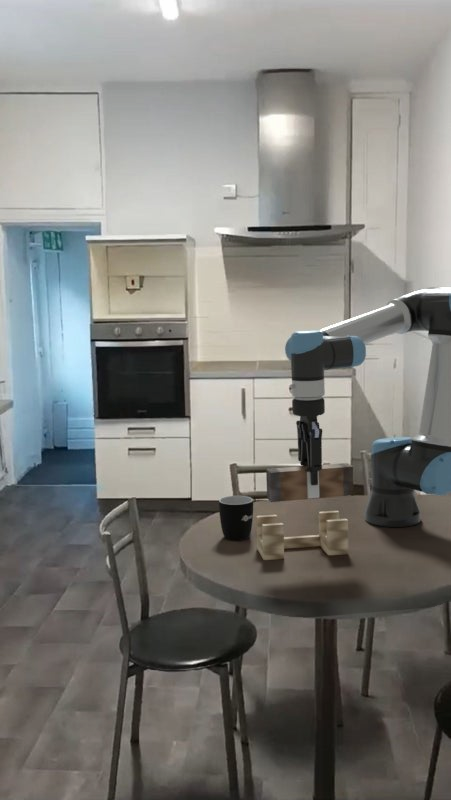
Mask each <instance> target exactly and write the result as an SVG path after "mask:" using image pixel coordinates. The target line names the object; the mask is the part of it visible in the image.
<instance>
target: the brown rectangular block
mask: <svg viewBox="0 0 451 800" xmlns="http://www.w3.org/2000/svg"><path fill="white" fill-rule="evenodd" d="M305 469H308V466H301V465H300V466H290V467H276V468H275V467H274V468H266V471H265V474H266V499H268V500H269V502H270V503H277V502H278V503H279V502H290V501H301V500H302V501H303V500H304V501H305V500H313V499H314V500H316V499H317V498H310V499H308V498H307V472H306V471H305ZM350 496H351V497H352V496H354V466H353V465H352V464H350V463H349V462H341V463H329V464H328V463H327V464H322V470H319V498H318V499H325V498H337V497H338V498H339V497H350Z"/></svg>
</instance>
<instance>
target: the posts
mask: <svg viewBox="0 0 451 800" xmlns="http://www.w3.org/2000/svg"><path fill="white" fill-rule="evenodd" d="M255 518H256V549H257V551H258V553H259V554H260V556H261V558H262V559H263V561H271V560H282V559H285V549H286V550H287V549H297V548H298V549H300V548H312V547H313V548H315V547H320V548H321V549H322V550H323V551H324V552H325V553H326V554H327V556H338V555H349V520H348V519H347V518H340V511H339V510H329V511H327V510H326V511H318V534H311V535H297V536H285V533H284V532H285V530H284V529H285V528H284V526H285V525H284V524H285V523H283V522H278V515H277V514H265V515H264V514H263V515H256V517H255Z"/></svg>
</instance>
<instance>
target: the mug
mask: <svg viewBox="0 0 451 800" xmlns="http://www.w3.org/2000/svg"><path fill="white" fill-rule="evenodd" d="M218 508H219V509H218V510H219V519H220V526H221V532H222V535H223V537H224V539H226V540H229V541H233V542H239V541H240V542H241V541H245V540H247V539H249V537H250V535H251V533H252V529H253V528H252V526H253V519H254V499H253V498H252V497H251V496H245V495H228V496H224V497H221V498H220V499H218Z"/></svg>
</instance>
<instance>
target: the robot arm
mask: <svg viewBox="0 0 451 800" xmlns="http://www.w3.org/2000/svg"><path fill="white" fill-rule="evenodd" d="M417 331H419V332H420V331H423V332H424V331H425V332H428V333H427V337H428V338H429V340H430V341H431V343H432V345H431V352H430V360H429V366H428V371H427V378H426V385H425V392H424V398H423V403H422V410H421V415H420V416H421V417H420V423H419V431H418V433H417V434H416V435H415V436H413V437H411V436H400V437H399V436H397V437H396V436H395V437H385V438H379V439H376V440H374V441H373V442H372V444H371V453H370V463H371V464H370V474H371V476H370V478H371V479H370V480H371V482H370V483H371V492H370V495H369V498H368V502H367V505H366V507H365V509H364V519H365V521H366V522H367V523H369V524H372V525H374V526H375V525H376V526H380V527H385V528H386V527H387V528H388V527H389V528H406V527H413V526H415V525H417V524H419V523H421V511H420V508H419V505H418V501H417V498H416V495H415V491H418V492H422V493H424V494H426V495H432V496H442V497H443V496H446V495H448V494H450V493H451V286H450V287H426V288H422V289H418V290H415V291H412V292H409V293H407V294H404V295H401V296H398V297H396V298H393V299H390V300H389V301H388V302H387V303H386V305H384V306H382V307H380V308H377V309H374V310H371V311H369V312H366V313H363V314H360V315H358V316H355V317H352V318H349V319H346V320H343V321H341V322H338V323H335V324H333V325H330V326H327V327H324V328H322V329H318V330H297V331H294V332H293V333H292V334H291V336H290V337H289V338H288V339H287V340H286V343H285V345H284V347H285V348H284V350H285V352H284V353H285V357H286V358H287V359H288V360H289V361H290V368H291V369H290V370H291V384H290V385H289V388H290V389H291V394H292V397H293V398H292V400H291V407H292V408H291V409H292V411H291V413H292V415H294V416H297V417H299V420H296V422H295V423H296V432H297V453H298V454H297V455H298V456H297V460H298V462H300V466H308V469H305V471H306V472H307V498H308V499H307V500H311V499H310V498H316V499H320V498H319V470H322V465H323V459H322V458H323V454H322V453H323V452H322V450H323V449H322V447H323V446H322V442H323V440H322V438H323V428H320V423H319V422H318V416H322V415H324V414H325V410H326V409H325V405H326V404H325V398H324V396H325V393H326V392H325V391H326V390H325V388H326V387H325V371H330V370H339V369H351V368H354V367H358V366H361V365H362V364H363V363H364V361H365V359H366V356H367V351H366V350H367V349H366V348H367V347H366V344H370V343H372V342H375V341H378V340H380V339H382V338H386V337H387V336H390V335H393V334H398V335H403V334H406V333H409V332H417Z"/></svg>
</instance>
